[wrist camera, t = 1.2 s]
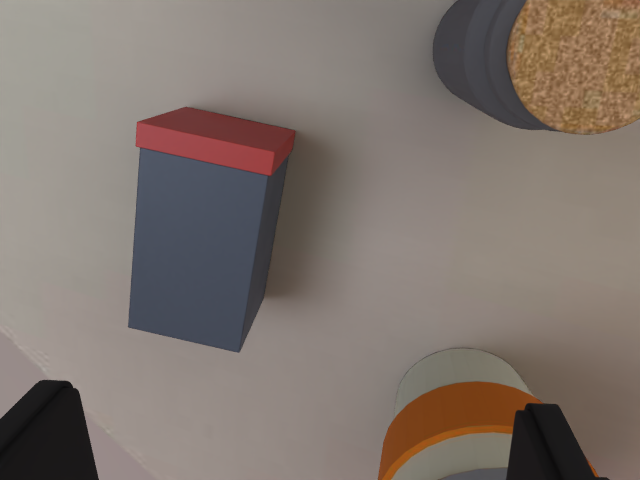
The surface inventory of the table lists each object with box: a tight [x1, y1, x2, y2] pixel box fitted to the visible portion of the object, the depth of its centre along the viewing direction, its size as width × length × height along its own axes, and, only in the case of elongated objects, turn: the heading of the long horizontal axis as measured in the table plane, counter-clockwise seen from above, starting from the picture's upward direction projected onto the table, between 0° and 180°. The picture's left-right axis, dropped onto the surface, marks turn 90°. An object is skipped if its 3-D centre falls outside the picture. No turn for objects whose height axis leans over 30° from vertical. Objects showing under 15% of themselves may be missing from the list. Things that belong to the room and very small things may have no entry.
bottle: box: [433, 0, 640, 135], centre depth 21 cm, size 6×6×15 cm
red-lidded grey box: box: [128, 107, 296, 352], centre depth 29 cm, size 12×7×7 cm, turn 169°
